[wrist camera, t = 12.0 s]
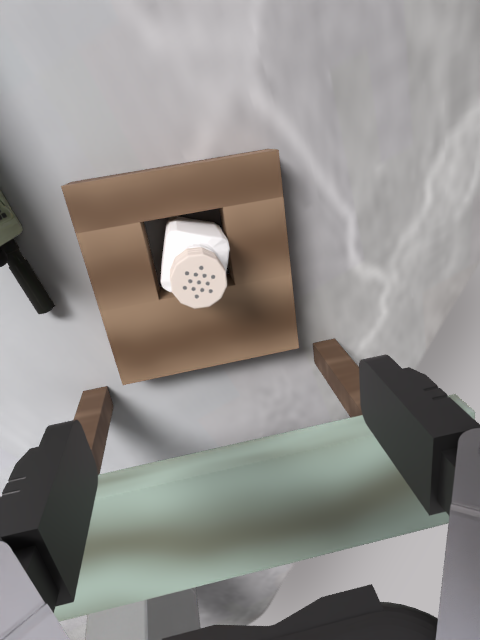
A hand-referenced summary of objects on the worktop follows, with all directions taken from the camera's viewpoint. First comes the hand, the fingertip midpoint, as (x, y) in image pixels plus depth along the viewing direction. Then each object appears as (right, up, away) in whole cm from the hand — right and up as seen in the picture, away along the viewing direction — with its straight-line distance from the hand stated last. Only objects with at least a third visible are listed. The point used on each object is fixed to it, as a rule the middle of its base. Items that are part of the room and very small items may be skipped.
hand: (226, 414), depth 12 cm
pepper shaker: (-3, +9, +20) cm, 22 cm away
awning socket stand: (-3, +5, +22) cm, 22 cm away
